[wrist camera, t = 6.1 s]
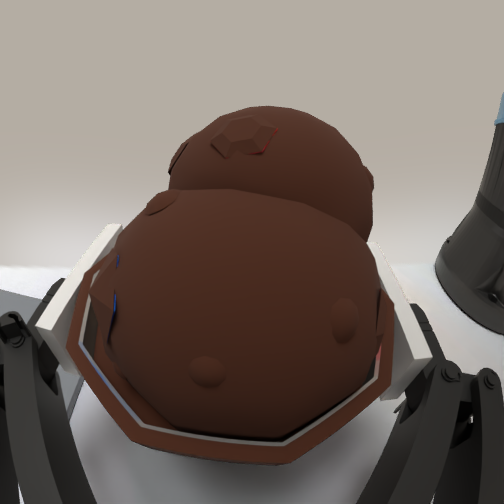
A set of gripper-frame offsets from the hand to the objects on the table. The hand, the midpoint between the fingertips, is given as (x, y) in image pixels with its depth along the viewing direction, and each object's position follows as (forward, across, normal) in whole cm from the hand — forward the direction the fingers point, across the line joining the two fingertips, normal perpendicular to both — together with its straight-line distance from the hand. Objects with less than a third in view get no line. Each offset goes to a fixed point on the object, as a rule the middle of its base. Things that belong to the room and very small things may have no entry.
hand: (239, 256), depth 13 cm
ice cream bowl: (-4, 0, -8) cm, 9 cm away
